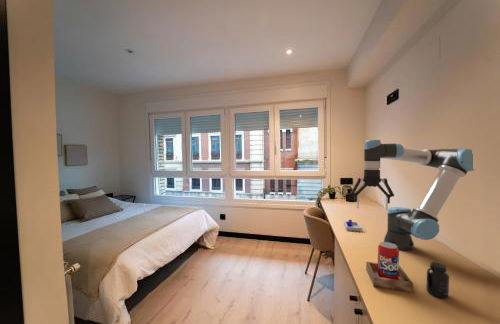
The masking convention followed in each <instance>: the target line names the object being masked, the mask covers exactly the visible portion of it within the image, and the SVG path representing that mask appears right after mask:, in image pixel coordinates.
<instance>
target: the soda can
mask: <svg viewBox="0 0 500 324" xmlns="http://www.w3.org/2000/svg"><path fill="white" fill-rule="evenodd" d="M377 263H378V266H377V274H378V276H379V277H381V278H388V279H395V280H398V274H399V266H400V265H399V264H400V250H399V249H398V248H397V246H396V245H395V244H392V243H389V242H384V241H381V242H379V245H377Z"/></svg>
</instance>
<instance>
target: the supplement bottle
mask: <svg viewBox="0 0 500 324" xmlns="http://www.w3.org/2000/svg"><path fill="white" fill-rule="evenodd" d="M429 263H430V264H429V268H427V270H426V285H425V287H426V292H427V293H428V294H429V295H430V296H431V297H433V298H436V299H440V300H446V299H449V297H450V275H449V273H447V266H446V265H445V264H442V263H441V262H438V261H437V262H436V261H431V262H429Z"/></svg>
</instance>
